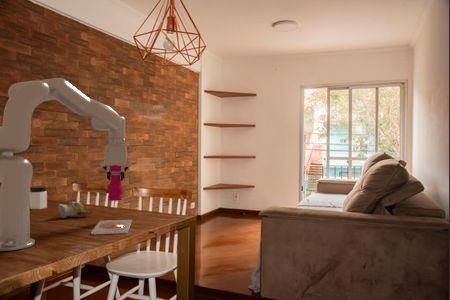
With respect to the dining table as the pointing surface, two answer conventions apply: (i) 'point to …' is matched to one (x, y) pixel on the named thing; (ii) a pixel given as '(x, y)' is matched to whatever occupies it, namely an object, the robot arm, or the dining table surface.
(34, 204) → the jar
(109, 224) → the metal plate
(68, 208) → the ceramic sculpture
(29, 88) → the robot arm
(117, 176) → the pepper mill
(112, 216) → the dining table surface
